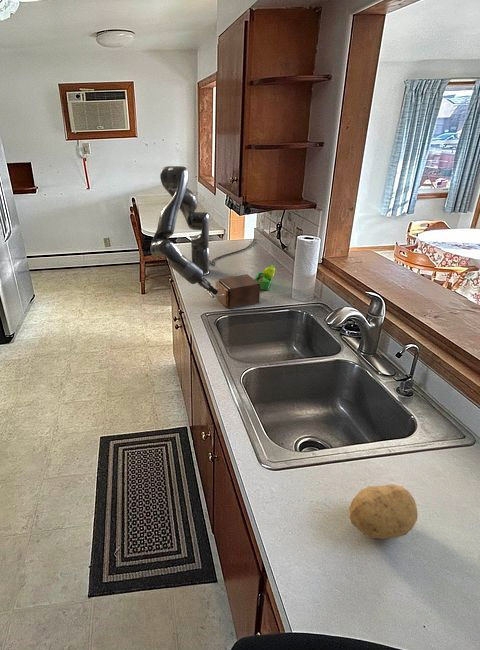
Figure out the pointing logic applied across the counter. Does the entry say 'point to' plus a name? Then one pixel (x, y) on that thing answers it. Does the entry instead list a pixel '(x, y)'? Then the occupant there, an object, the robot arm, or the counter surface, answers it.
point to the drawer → (221, 294)
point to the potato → (383, 511)
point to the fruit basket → (265, 277)
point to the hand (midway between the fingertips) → (216, 292)
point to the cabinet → (241, 290)
